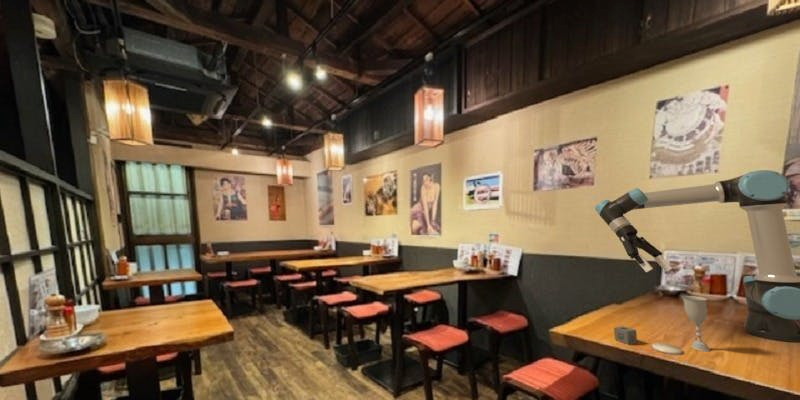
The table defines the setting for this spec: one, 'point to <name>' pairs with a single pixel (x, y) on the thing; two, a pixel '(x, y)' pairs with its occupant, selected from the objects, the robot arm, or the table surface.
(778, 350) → the table surface
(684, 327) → the table surface
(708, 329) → the table surface
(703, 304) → the chalice
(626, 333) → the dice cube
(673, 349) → the coaster
